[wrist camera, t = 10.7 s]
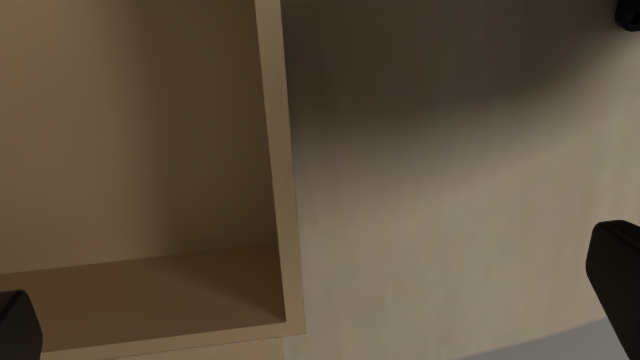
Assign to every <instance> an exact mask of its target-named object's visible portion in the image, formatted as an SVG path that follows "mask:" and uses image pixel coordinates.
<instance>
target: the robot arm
mask: <svg viewBox="0 0 640 360" xmlns="http://www.w3.org/2000/svg"><path fill="white" fill-rule="evenodd" d="M634 10H636V15H635V17H634V18H633V19H632V20H631V21H629V20H628V17H629V15H630V13H632V12H633V11H634ZM615 22H616V24H617V25H618V26H619V27H620V28H622V29H624V30H626V31H631V32H634V31H640V0H618V4H617V9H616V14H615ZM586 273H587V276H588V278H589V281H590V283H591V285H592V287H593V289H594V291H595V293H596V295H597V297H598V299H599V301H600V303H601V305H602V307H603V309H604V311H605V313H606V315H607V317H608V319H609V321H610V323H611V325H612V327H613V329H614V331H615V333H616V335H617V337H618V339H619V341H620V343H621V345H622V347H623V348H624V350H625V352H626V354H627V356H628V358H629V359H630V360H640V227H639V226H637V225H634V224H632V223H629V222H627V221H624V220H612V221H604V222H599V223H597V224H596V225H595V227H594V228H593V231H592V235H591V240H590V245H589V249H588V254H587V258H586ZM42 345H43V334H42V329H41V326H40V324H39V321H38V318H37V316H36V313H35V310H34V308H33V305H32V302H31V300H30V297H29V295H28V294H27V292H26V291H24V290H22V289H16V290H7V291H0V360H40V357H41V351H42Z"/></svg>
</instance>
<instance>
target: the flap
mask: <svg viewBox="0 0 640 360" xmlns="http://www.w3.org/2000/svg"><path fill="white" fill-rule="evenodd" d="M113 360H284V354H283V344H282V338H277V339H269V340H262V341H254V342H246V343H238V344H230V345H222V346H215V347H207V348H199V349H191V350H183V351H175V352H167V353H160V354H152V355H144V356H136V357H128V358H120V359H113Z"/></svg>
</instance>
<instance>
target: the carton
mask: <svg viewBox="0 0 640 360" xmlns="http://www.w3.org/2000/svg"><path fill="white" fill-rule="evenodd" d="M16 289H22V290H24V291H26V292H27V294H28V295H29V297H30V300H31V302H32V305H33V308H34V310H35V313H36V316H37V318H38V321H39V324H40V326H41V329H42V334H43V345H42V351H41V357H40V360H104V359H111V358H119V357H127V356H135V355H143V354H151V353H159V352H166V351H174V350H182V349H190V348H198V347H206V346H214V345H221V344H229V343H237V342H245V341H253V340H261V339H269V338H276V337H284V336H292V335H300V334H306V326H305V313H304V300H303V288H302V275H301V262H300V249H299V236H298V223H297V210H296V198H295V185H294V172H293V159H292V146H291V133H290V121H289V108H288V95H287V82H286V69H285V56H284V44H283V31H282V18H281V5H280V0H0V291H7V290H16Z"/></svg>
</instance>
